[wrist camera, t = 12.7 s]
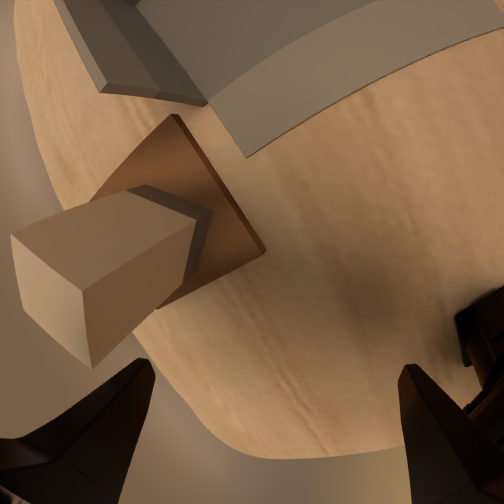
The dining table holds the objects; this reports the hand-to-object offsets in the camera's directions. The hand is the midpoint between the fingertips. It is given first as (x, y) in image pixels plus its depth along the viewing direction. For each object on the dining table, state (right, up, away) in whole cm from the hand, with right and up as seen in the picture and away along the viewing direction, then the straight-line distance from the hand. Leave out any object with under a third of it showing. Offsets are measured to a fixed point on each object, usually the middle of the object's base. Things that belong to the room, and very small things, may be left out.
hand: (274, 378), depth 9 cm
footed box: (-7, +6, +12) cm, 15 cm away
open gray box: (+4, +24, +3) cm, 24 cm away
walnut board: (-8, +7, +14) cm, 17 cm away
